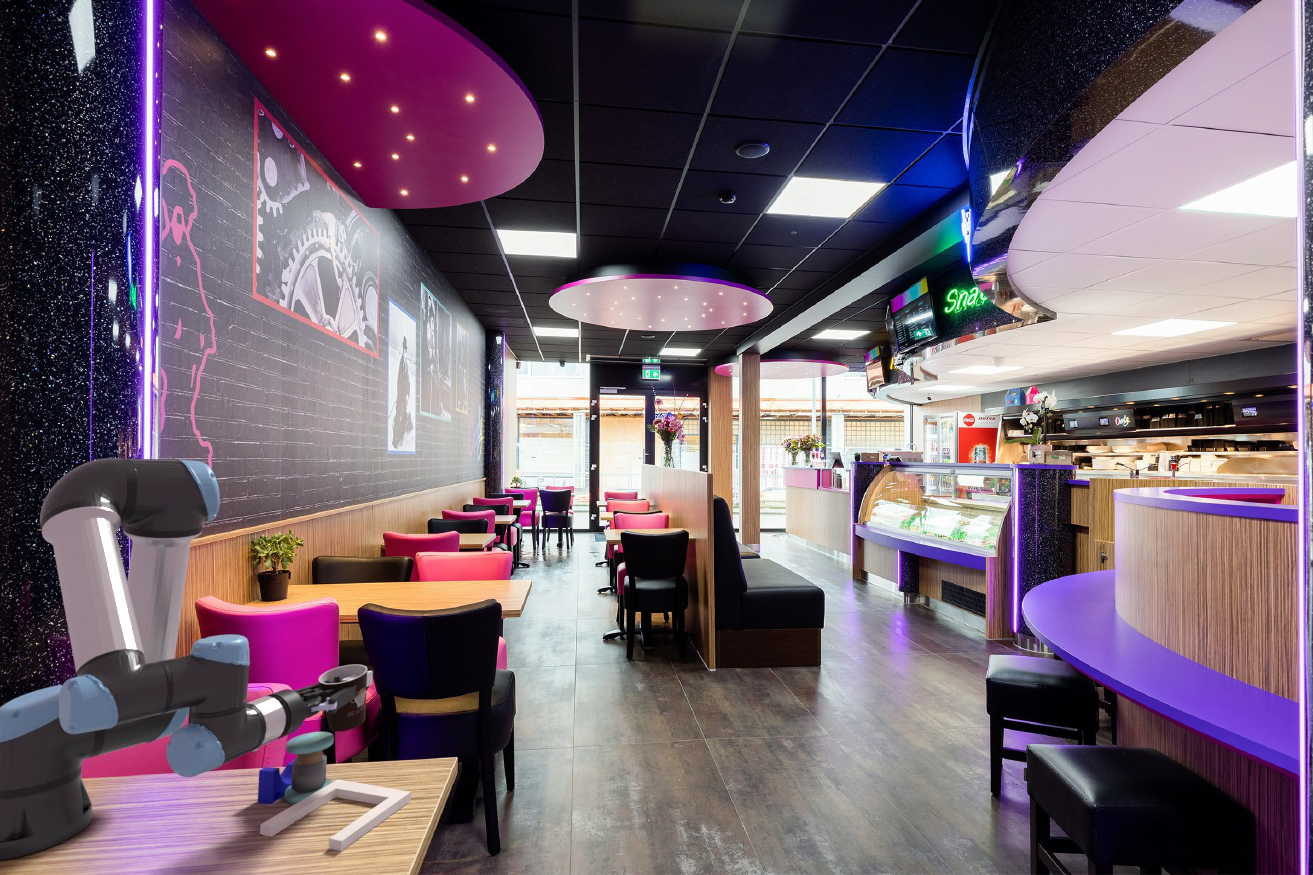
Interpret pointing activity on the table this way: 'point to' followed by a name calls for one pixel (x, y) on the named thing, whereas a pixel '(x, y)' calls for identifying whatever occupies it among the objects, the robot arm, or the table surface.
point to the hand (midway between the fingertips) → (368, 677)
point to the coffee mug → (356, 708)
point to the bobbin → (308, 765)
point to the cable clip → (273, 783)
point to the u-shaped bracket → (381, 796)
